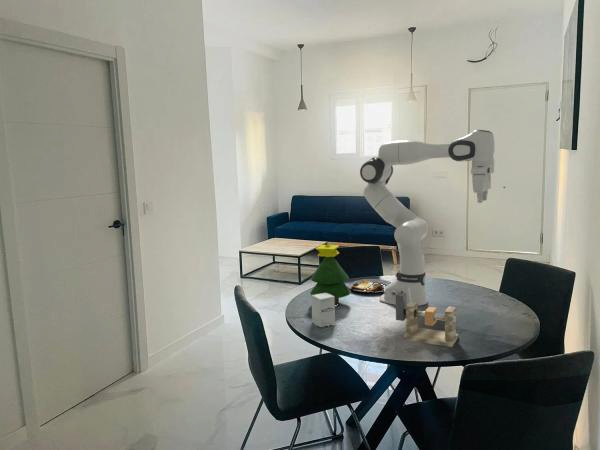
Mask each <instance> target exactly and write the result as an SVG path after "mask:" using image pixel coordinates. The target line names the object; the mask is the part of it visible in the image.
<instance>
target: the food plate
mask: <svg viewBox="0 0 600 450" xmlns="http://www.w3.org/2000/svg"><path fill="white" fill-rule="evenodd" d="M392 282H393V281H390V280H385V279H375V278H373V279H372V278H365V279H364V278H363V279H358V280H353V281H351V282H350V283H348V284H347V285H346V286H347V287H348V288H349V290H350V291H351V290H352V291H353V292H359V293H360V292H362V293H365V292H367V294H368V293H369V292H372V293H376V294H377V293H384V292H385V291H383V289H385V287H386V286H388V285H389V284H390V283H392ZM374 283H378V284H374ZM359 284H360V285H359ZM373 284H374V285H373ZM381 284H383V285H385V287H384V286H383V285H381ZM371 285H373V288H369V287H370V286H371ZM367 288H369V289H367ZM364 290H366V291H364ZM369 294H370V293H369Z"/></svg>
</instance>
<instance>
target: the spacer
mask: <svg viewBox="0 0 600 450" xmlns="http://www.w3.org/2000/svg"><path fill="white" fill-rule="evenodd" d="M437 309H438V308H437V307H432V306H427V308H426V309H425V310H424V311H425V318H424V325H425V326H430V327H433V326H434V325H435V324H436V323H437V321H438V320H435V319H434V313H438V312H437V311H438V310H437Z"/></svg>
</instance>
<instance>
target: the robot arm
mask: <svg viewBox="0 0 600 450" xmlns="http://www.w3.org/2000/svg"><path fill="white" fill-rule="evenodd" d="M494 153H495V136H494V134H493V132H491V131H490V130H487V129H486V130H485V129H475V130H473V131H472V132H471V133H469V134H467V135H465V136H463V137H460V138H457V139H455V140H453V141H452V142H450V143H427V142H423V141H418V140H417V141H416V140H409V139H402V140H401V139H400V140H393V141H387V142H384V143H382V144H381V145H380V146H379V148H378V156H374V157H372V158H371V159H369V160H367V161H366V162H364V163H363V164H362V165H361V167H360V168H359V174H360V178H361V179H362V181H364V182H365V183H367V185H366V186H365V187H364V189H363V196H364V198H365V200H366V201H367V203H369V205H370V206H371V207H372V209H374V211H375V212H376V213H377V214H378V215H379V216H380V217H381V218H382V219H383V220H384V221H385V222H386V223H388V224H389V225H391V226H393V227H395V228H396V229H395V230H394V235H393V236H394V240H395V242H396V243H397V248H398V252H399V253H398V254H399V270H398V271H397V272H396V274H395V278H396V279H394V280H393V281H391V282H392V283H390V284H389V285H388V286H387V287H386V286H385V288H384V289H385V292H383V294H381V295H380V297H379V302H380V301H381V302H380V303H386V304H390V305H394V306H396V294H398V293H399V292H401V293H407V305H408V304H409V303H410V302H418V306H419V307H420V306H423V305H426V304H428V303H429V299H428V296H427V291H426V290H427V289H426V282H427V281H426V280H427V279H426V277H427V276H426V272H425V255H424V253H423V248H422V240H424V239H425V238H426V236H427V234H428V232H429V225H428V223H427V222H426V221H425V220H424V219H423V218H421V217H419V216H418V215H417V214H416V213H414V212H413V211H412V210H410V209H409V208H407V207H406V206H405V205H403V203H402V202H401V201H399V200H398V198H397V197H396V196H395V195H394V194H393V193H392V192H391V191H390V190H389V189H388V188H387V186H386V185H388V183H389V181H390V179H391V177H392V176H393V174H394V173H393V172H394V167H393V166H401V165H413V164H417V163H421V162H424V161H428V160H431V159H437V158H438V159H439V158H440V159H441V158H443V159H444V158H445V159H446V158H451V159H452V160H454V162H455V161H456V162H470V161H471V169H470V175H472V177H471V179H472V182H471V183H472V190H473V193H476V199H477V203H478V204H483V202H484V201H487V199H488V192H489V190H491V189H492V176H491V174H493V173H494V172H495V158H494Z"/></svg>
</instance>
